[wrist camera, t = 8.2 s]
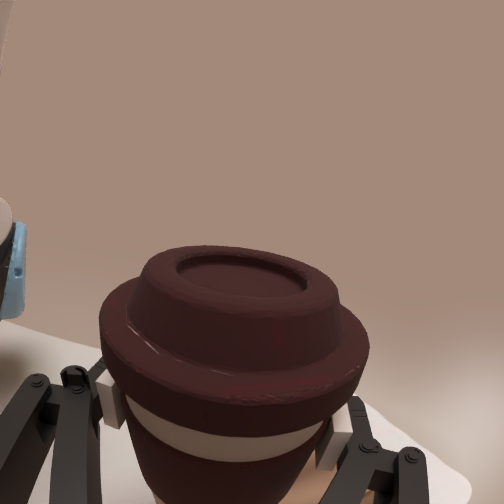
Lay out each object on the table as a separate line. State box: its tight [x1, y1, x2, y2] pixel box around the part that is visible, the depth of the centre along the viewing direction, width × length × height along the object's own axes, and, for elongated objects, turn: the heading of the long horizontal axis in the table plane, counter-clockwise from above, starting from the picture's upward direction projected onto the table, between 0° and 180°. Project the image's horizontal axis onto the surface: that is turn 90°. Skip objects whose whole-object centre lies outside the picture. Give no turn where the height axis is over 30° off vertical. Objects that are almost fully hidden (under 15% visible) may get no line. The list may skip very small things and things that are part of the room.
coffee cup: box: [99, 245, 370, 504], centre depth 13 cm, size 10×10×15 cm
